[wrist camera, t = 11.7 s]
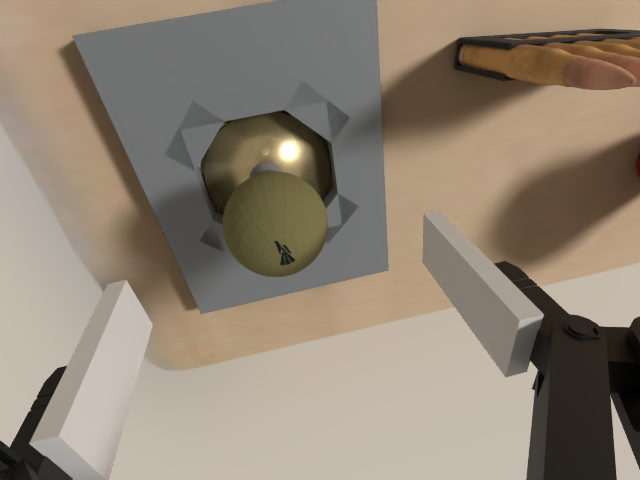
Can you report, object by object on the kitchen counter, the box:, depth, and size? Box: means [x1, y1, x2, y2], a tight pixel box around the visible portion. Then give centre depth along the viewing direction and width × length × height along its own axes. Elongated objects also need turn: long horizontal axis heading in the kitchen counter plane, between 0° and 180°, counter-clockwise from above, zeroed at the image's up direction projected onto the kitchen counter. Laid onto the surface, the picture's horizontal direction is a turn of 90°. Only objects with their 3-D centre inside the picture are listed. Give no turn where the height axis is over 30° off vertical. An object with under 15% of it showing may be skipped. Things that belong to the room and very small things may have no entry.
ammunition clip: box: [454, 29, 640, 90], centre depth 19 cm, size 11×2×12 cm, turn 92°
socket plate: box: [72, 0, 388, 314], centre depth 25 cm, size 20×16×2 cm
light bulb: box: [223, 162, 328, 277], centre depth 21 cm, size 6×6×10 cm
